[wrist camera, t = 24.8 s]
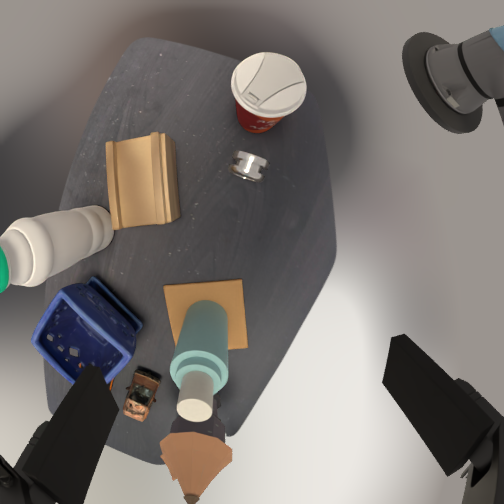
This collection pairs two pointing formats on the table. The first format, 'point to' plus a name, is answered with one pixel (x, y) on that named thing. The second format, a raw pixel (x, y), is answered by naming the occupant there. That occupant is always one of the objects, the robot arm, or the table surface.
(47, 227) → the water bottle
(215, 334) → the plastic bottle
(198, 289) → the cork mat
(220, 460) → the model tower
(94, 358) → the flower pot
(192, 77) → the table surface
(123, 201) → the birch block
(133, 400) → the toy car
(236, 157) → the metal grooved wheel
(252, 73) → the paper cup
